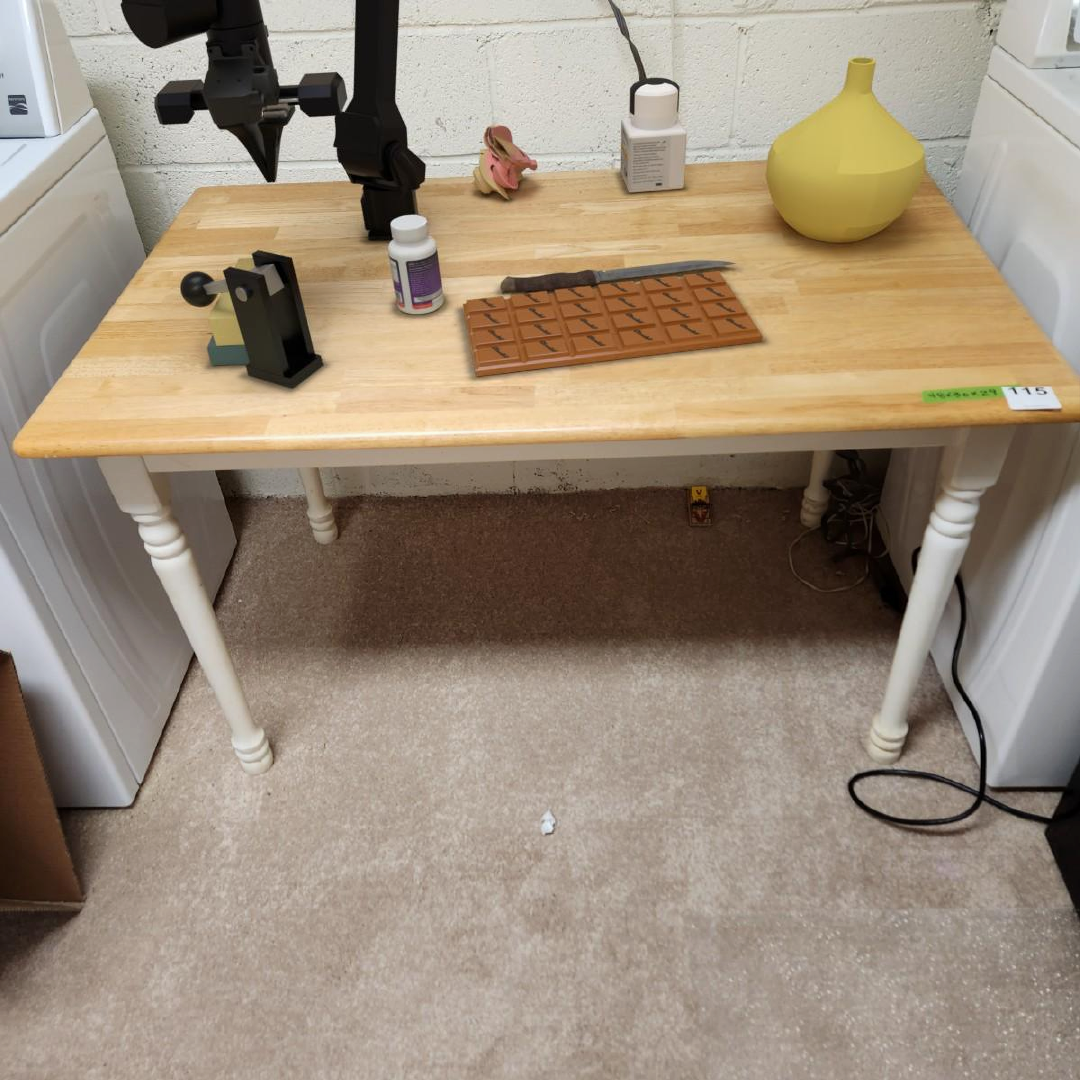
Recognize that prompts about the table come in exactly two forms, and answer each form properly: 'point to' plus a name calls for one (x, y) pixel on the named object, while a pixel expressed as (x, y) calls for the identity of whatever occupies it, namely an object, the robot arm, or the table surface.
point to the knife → (600, 276)
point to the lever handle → (221, 285)
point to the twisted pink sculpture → (500, 162)
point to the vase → (845, 165)
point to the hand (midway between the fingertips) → (272, 181)
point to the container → (653, 137)
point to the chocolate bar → (605, 323)
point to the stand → (273, 322)
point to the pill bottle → (415, 266)
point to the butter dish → (226, 354)
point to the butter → (228, 314)
